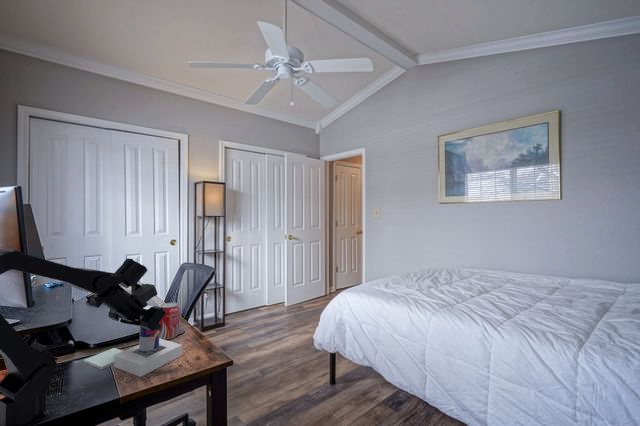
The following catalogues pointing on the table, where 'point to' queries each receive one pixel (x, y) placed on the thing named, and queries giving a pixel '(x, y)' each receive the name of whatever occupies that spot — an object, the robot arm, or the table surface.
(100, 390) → the table surface
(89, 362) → the pad
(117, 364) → the well board
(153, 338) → the energy drink
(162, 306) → the soda can
